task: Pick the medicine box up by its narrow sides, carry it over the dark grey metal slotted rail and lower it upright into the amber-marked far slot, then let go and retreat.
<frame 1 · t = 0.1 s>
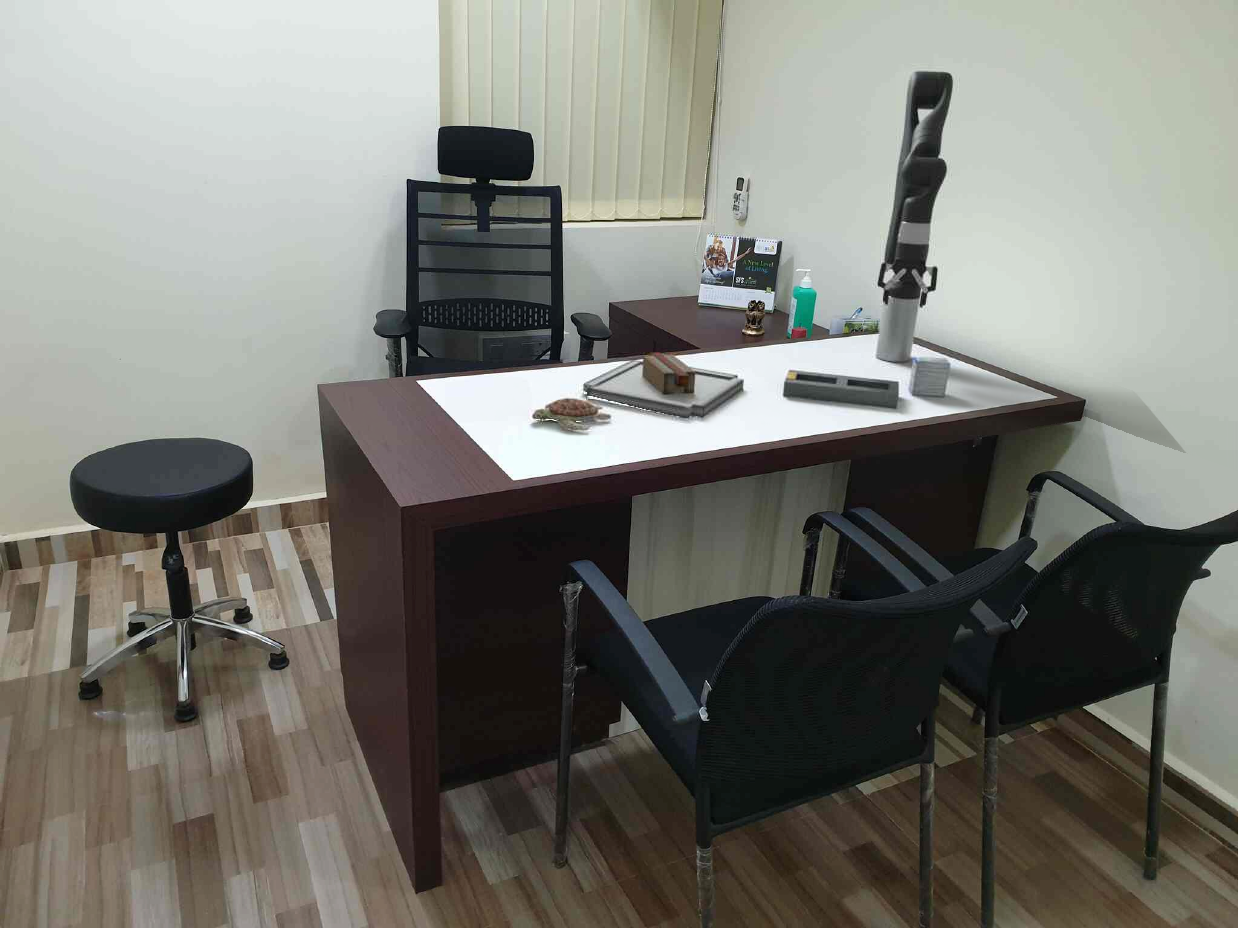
hand: (903, 305, 234), 17 cm above the table, tool pointing down, fingers open, 8 cm apart
medicine box: (926, 394, 222), on the table
decorative turtle: (569, 422, 195), on the table
grey square tray: (664, 395, 216), on the table
slotted rail: (840, 395, 218), on the table
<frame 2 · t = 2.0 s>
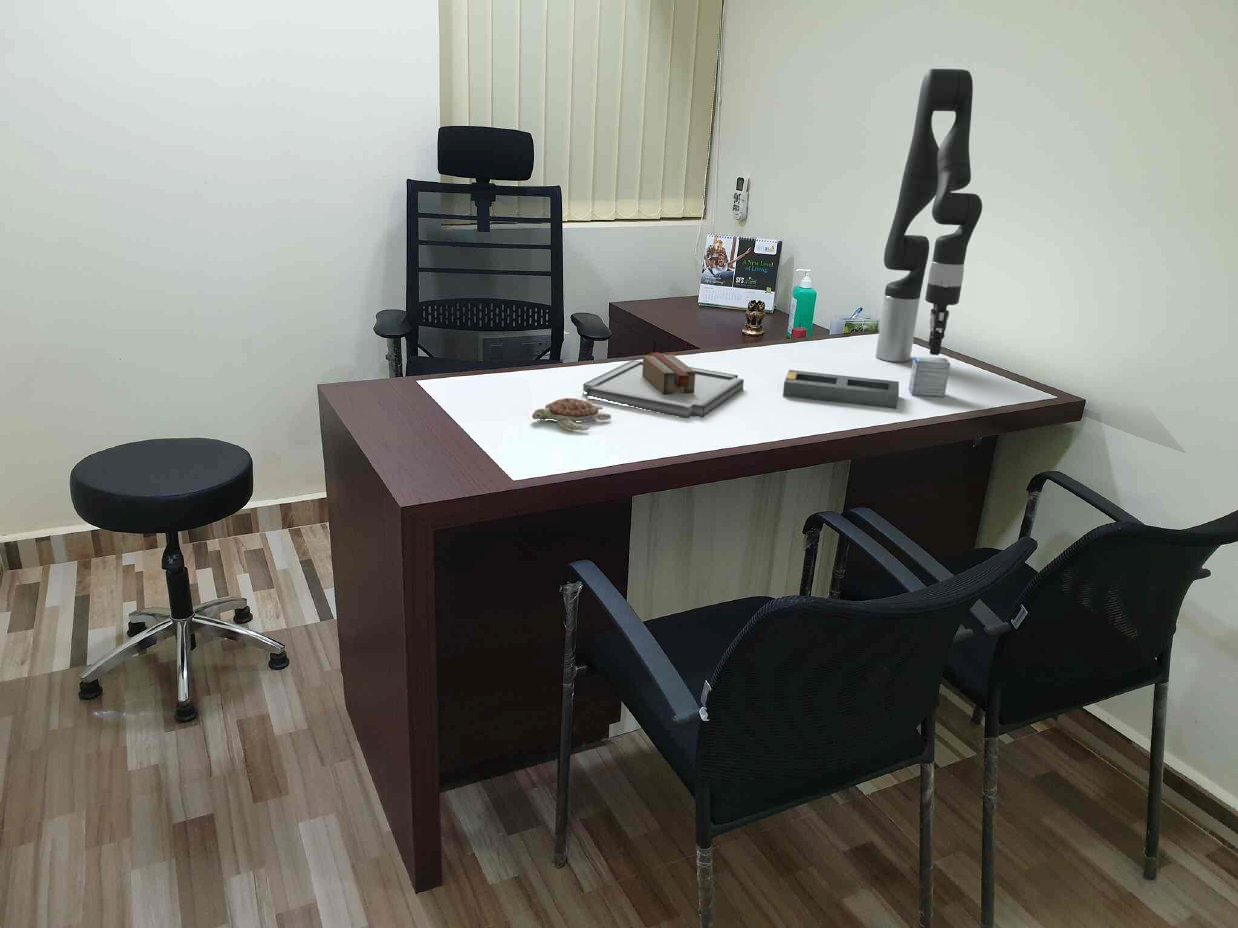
hand: (933, 350, 218), 11 cm above the table, tool pointing down, fingers open, 8 cm apart
nothing on the table moved.
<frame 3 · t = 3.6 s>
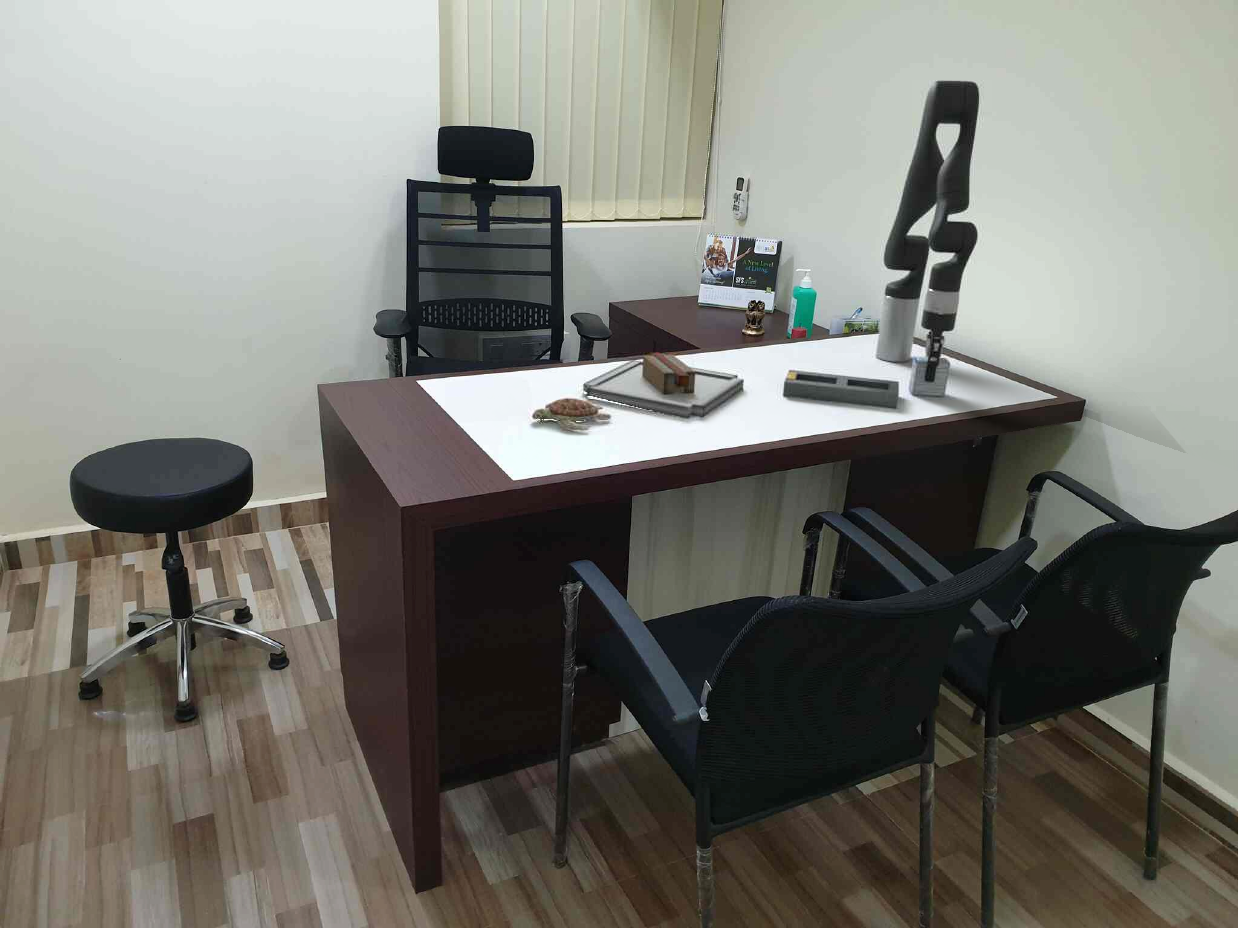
hand: (928, 378, 220), 4 cm above the table, tool pointing down, fingers closed on medicine box, 5 cm apart
medicine box: (926, 394, 222), on the table, touching gripper
everything else where it was.
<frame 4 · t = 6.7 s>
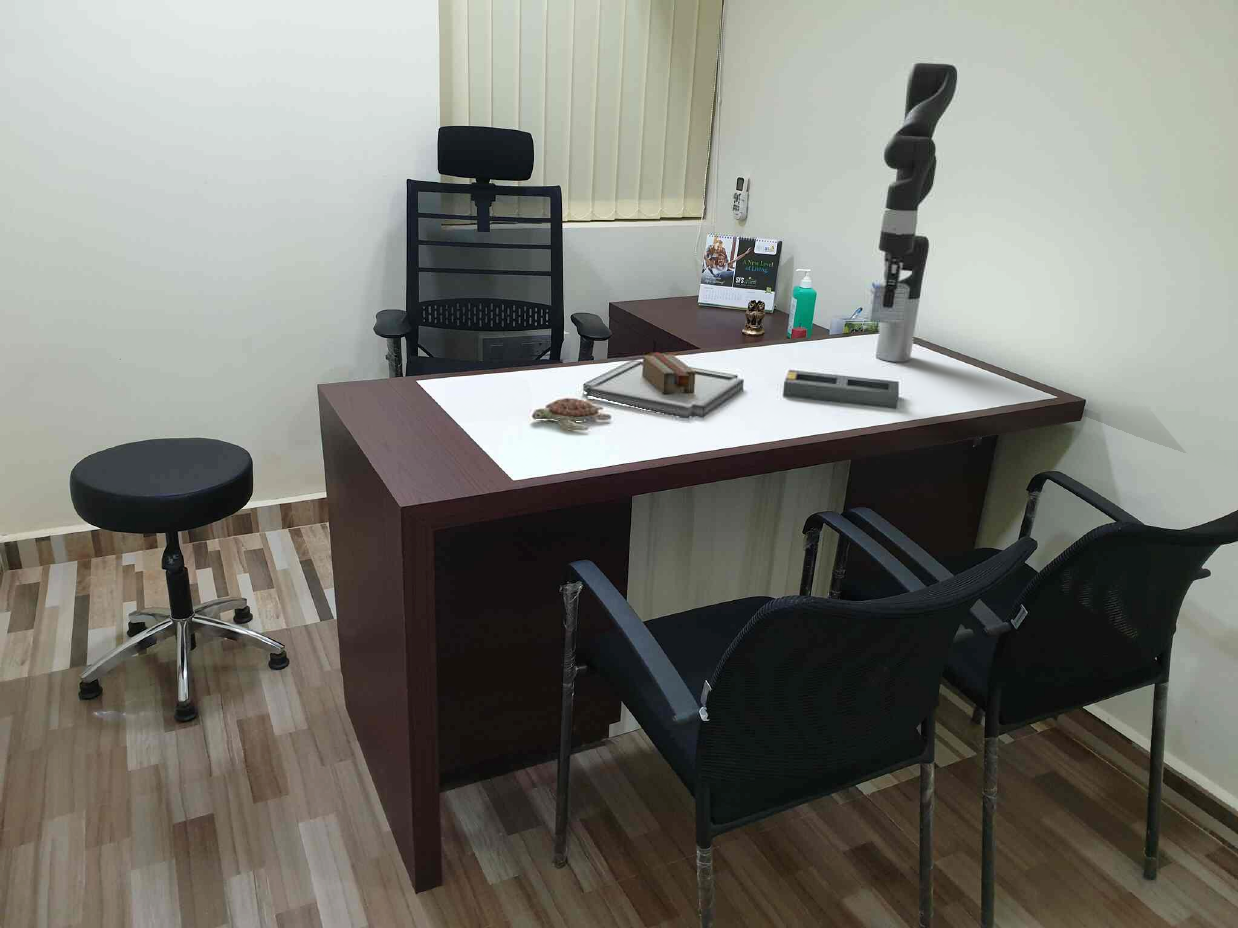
hand: (887, 304, 212), 22 cm above the table, tool pointing down, fingers closed on medicine box, 5 cm apart
medicine box: (885, 322, 214), point 18 cm above the table, touching gripper
everything else where it was.
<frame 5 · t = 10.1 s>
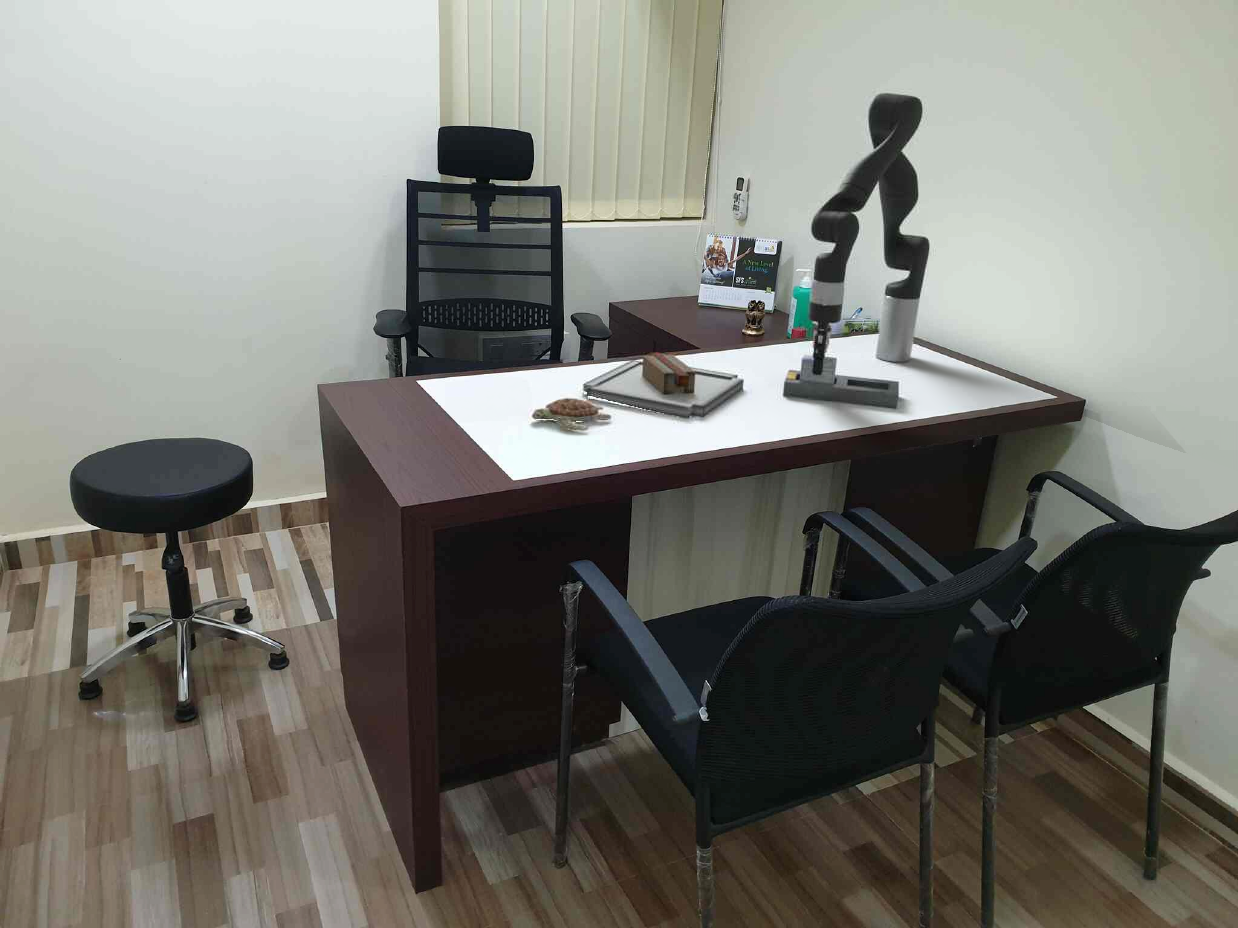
hand: (817, 371, 217), 5 cm above the table, tool pointing down, fingers closed on medicine box, 4 cm apart
medicine box: (815, 394, 219), resting in slotted rail, touching gripper
everything else where it was.
when the fingers open (5 cm above the table, at t = 10.6 s): medicine box stays where it is, resting in slotted rail.
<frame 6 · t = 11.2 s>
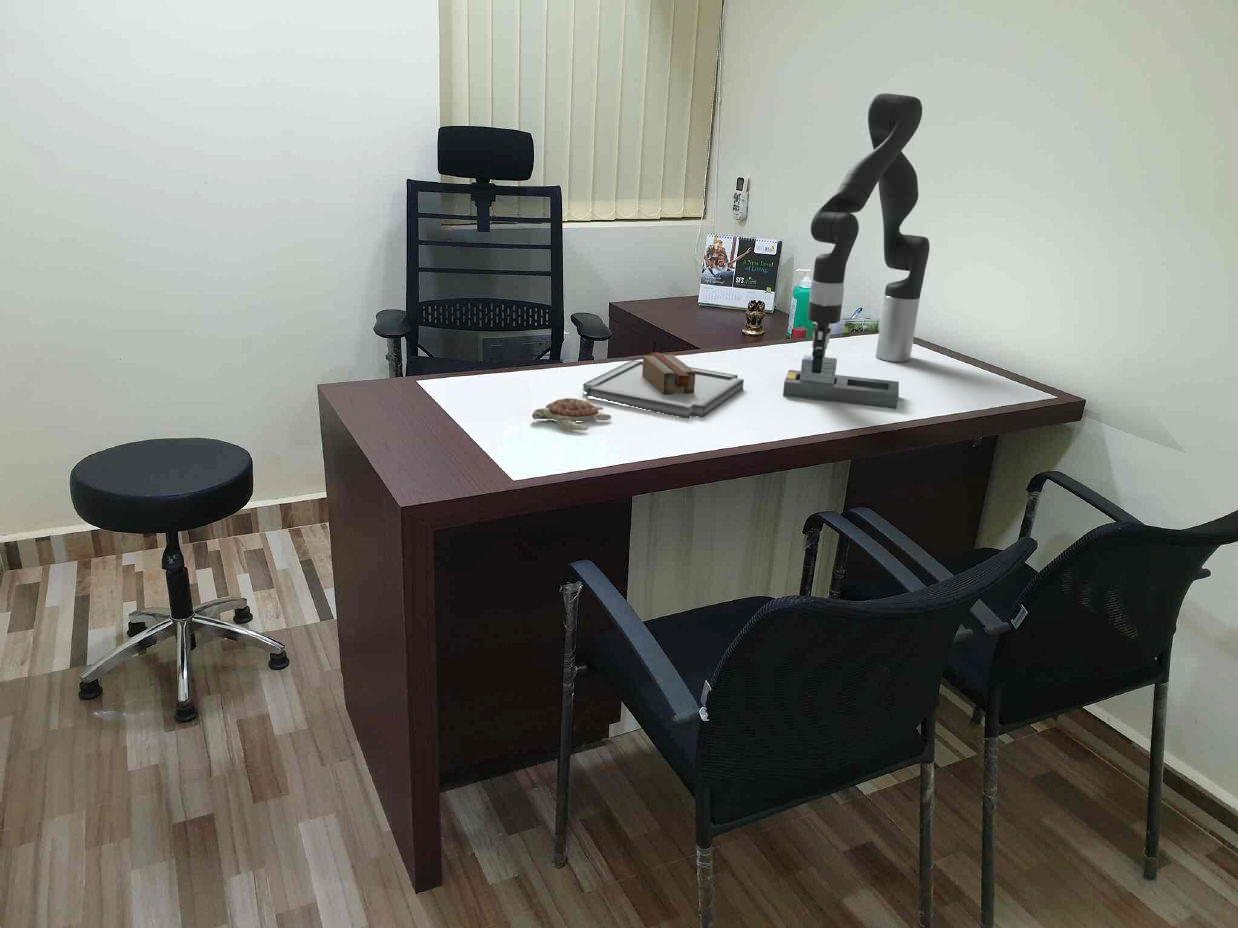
hand: (817, 368, 217), 6 cm above the table, tool pointing down, fingers open, 8 cm apart
medicine box: (815, 394, 219), resting in slotted rail
everything else where it was.
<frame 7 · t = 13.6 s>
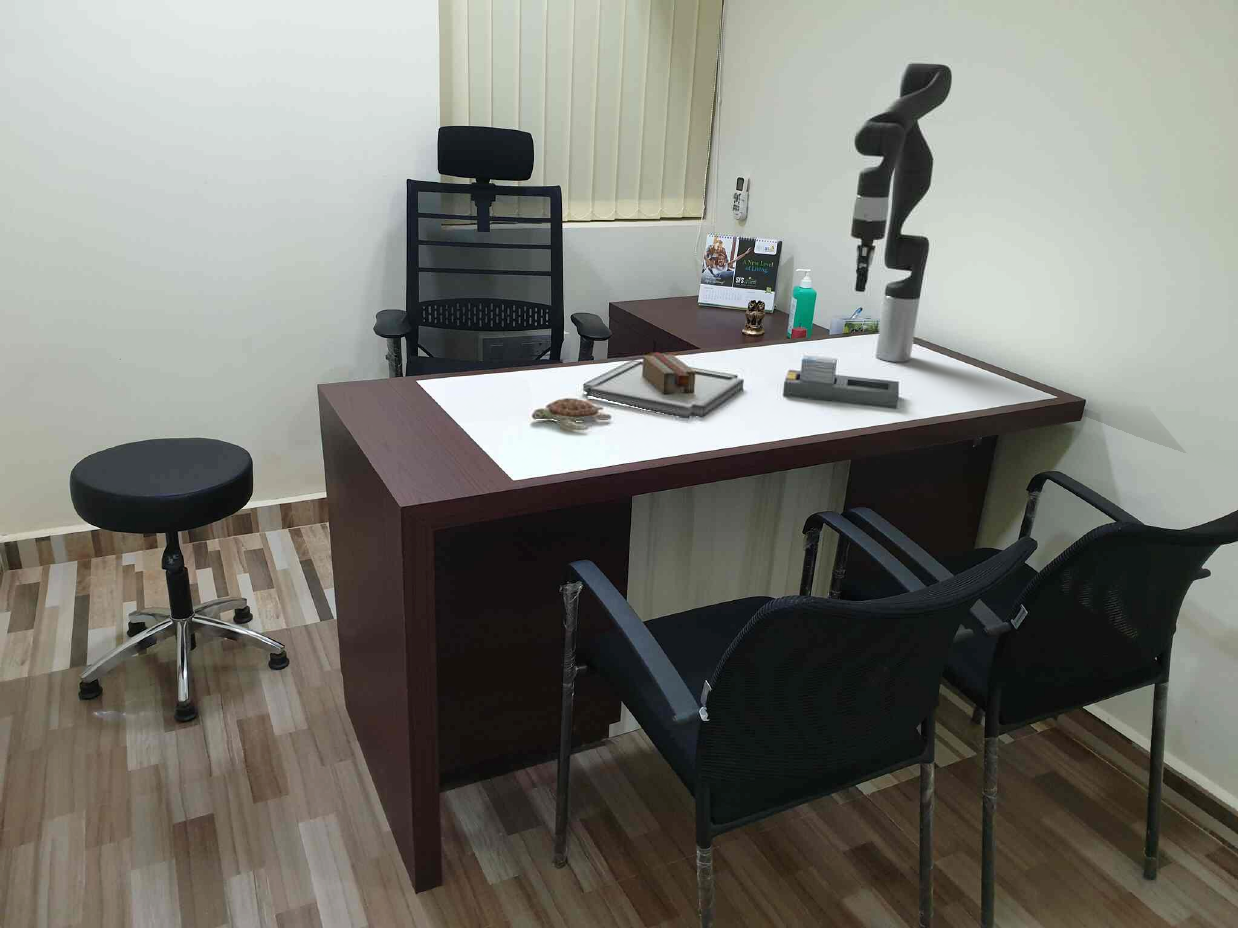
hand: (860, 287, 213), 25 cm above the table, tool pointing down, fingers open, 8 cm apart
nothing on the table moved.
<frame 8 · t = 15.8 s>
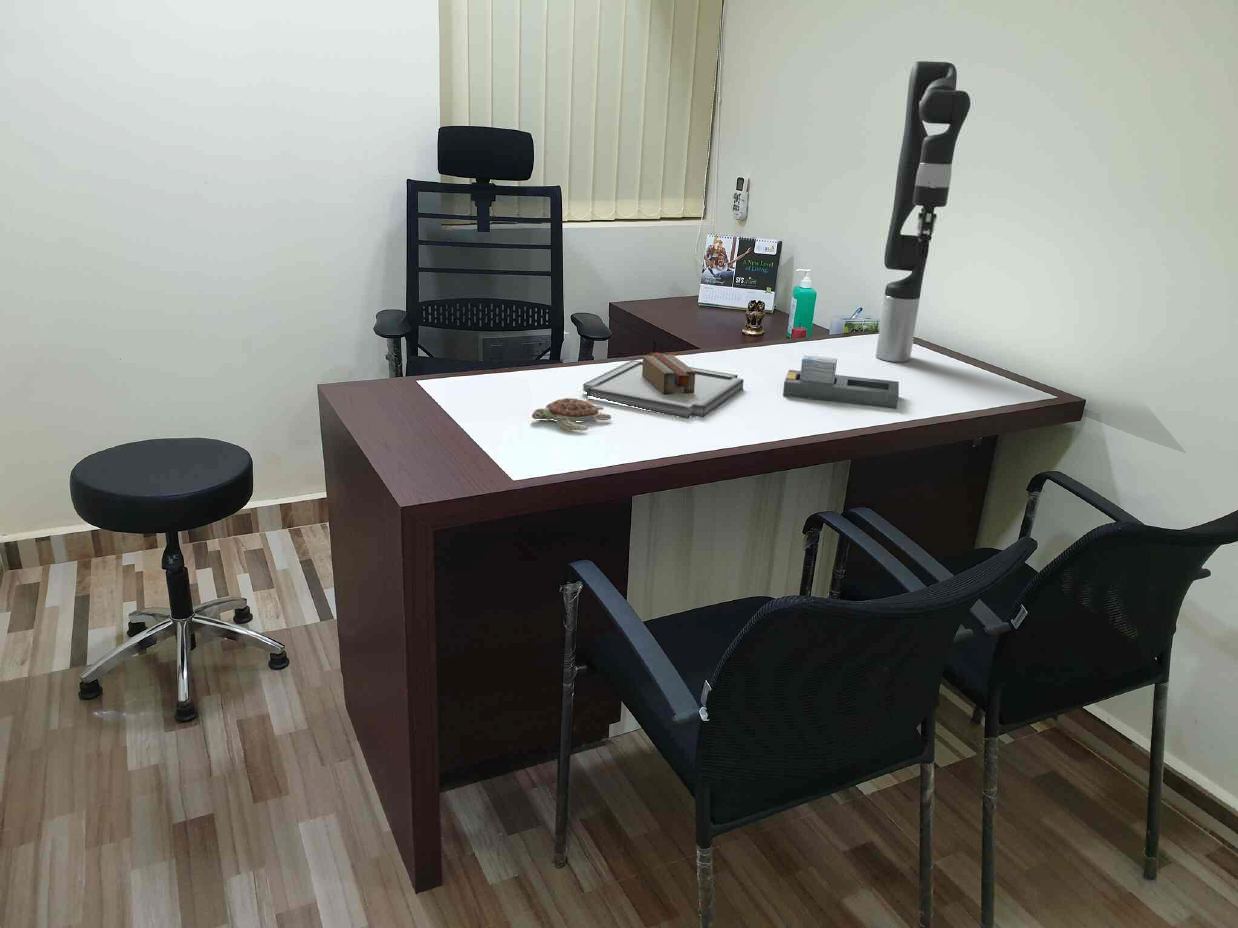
hand: (921, 255, 215), 32 cm above the table, tool pointing down, fingers open, 8 cm apart
nothing on the table moved.
at the end: medicine box 0.4 cm from the target spot on the slotted rail, point 0.0 cm above the slotted rail's base; medicine box tilted 0°; the gripper is holding nothing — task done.
